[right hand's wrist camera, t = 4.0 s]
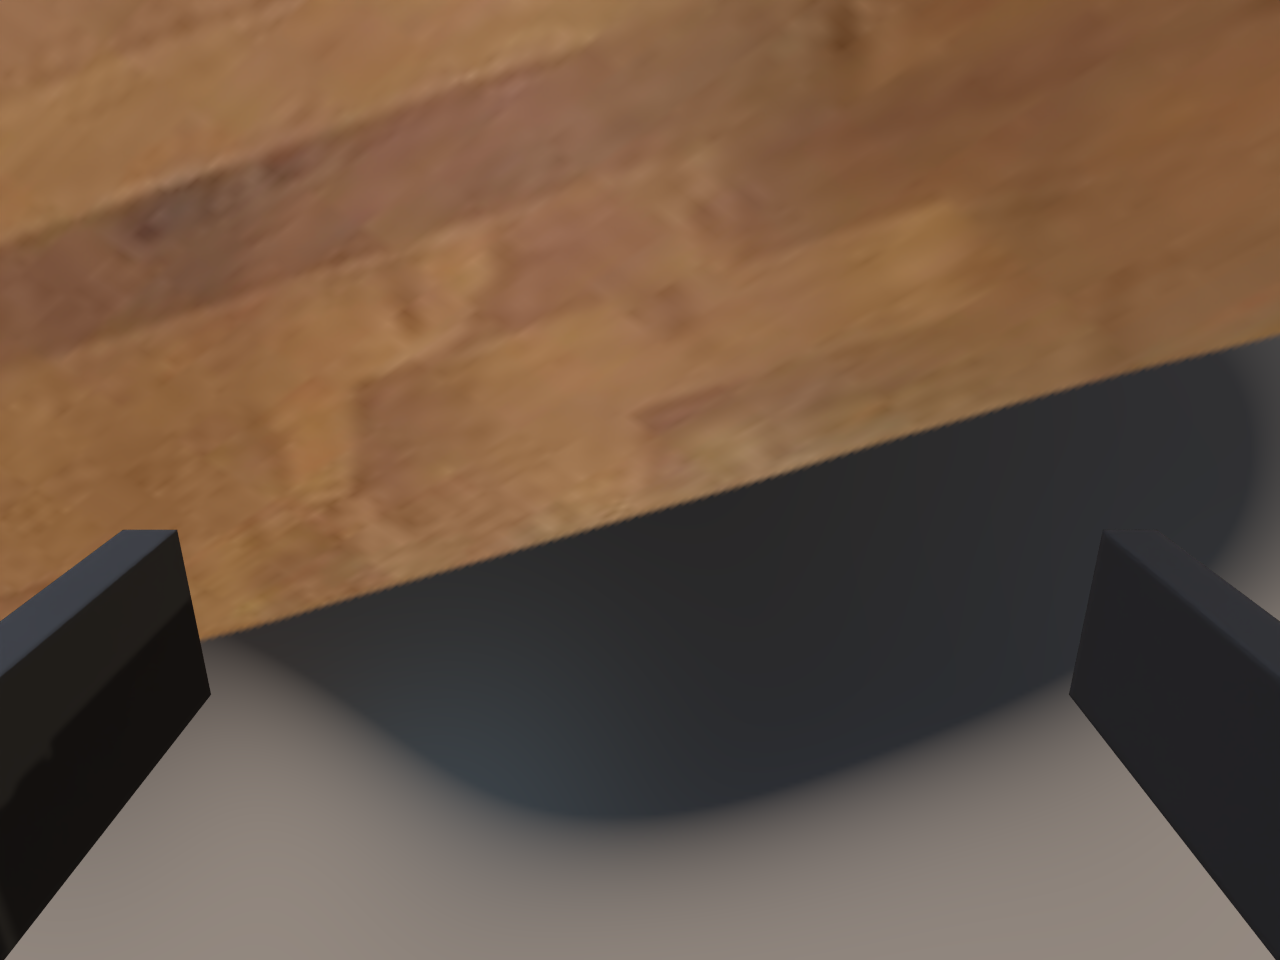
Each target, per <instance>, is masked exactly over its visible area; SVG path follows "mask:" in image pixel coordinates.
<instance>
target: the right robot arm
mask: <svg viewBox="0 0 1280 960" xmlns="http://www.w3.org/2000/svg"><path fill="white" fill-rule="evenodd" d="M210 695H211V693H210V688H209V683H208V678H207V673H206V668H205V663H204V659H203V654H202V649H201V644H200V639H199V634H198V629H197V624H196V620H195V615H194V610H193V605H192V600H191V595H190V590H189V586H188V581H187V576H186V571H185V566H184V561H183V556H182V552H181V547H180V542H179V537H178V532H177V530H122V531H121V532H120V533H118V534H117V535H115V536H114V537H113V538H111V539H110V540H109V541H107V542H106V543H105V544H103V545H102V546H101V547H99V548H98V549H97V550H95V551H94V552H93V553H91V554H90V555H89V556H87V557H86V558H85V559H83V560H82V561H81V562H79V563H78V564H77V565H75V566H74V567H73V568H71V569H70V570H69V571H67V572H66V573H65V574H63V575H62V576H61V577H59V578H58V579H56V580H55V581H54V582H52V583H51V584H50V585H48V586H47V587H46V588H44V589H43V590H42V591H40V592H39V593H38V594H36V595H35V596H34V597H32V598H31V599H30V600H28V601H27V602H26V603H24V604H23V605H22V606H20V607H19V608H18V609H16V610H15V611H14V612H12V613H11V614H10V615H8V616H7V617H6V618H4V619H3V620H2V621H0V960H4V959H5V958H6V957H7V956H8V954H9V953H10V952H11V950H12V949H13V948H14V947H15V945H16V944H17V943H18V941H19V940H20V939H21V938H22V936H23V935H24V934H25V932H26V931H27V930H28V929H29V927H30V926H31V925H32V923H33V922H34V921H35V920H36V918H37V917H38V916H39V915H40V913H41V912H42V911H43V909H44V908H45V907H46V906H47V904H48V903H49V902H50V900H51V899H52V898H53V897H54V895H55V894H56V893H57V891H58V890H59V889H60V888H61V886H62V885H63V884H64V882H65V881H66V880H67V879H68V877H69V876H70V875H71V873H72V872H73V871H74V870H75V868H76V867H77V866H78V864H79V863H80V862H81V861H82V859H83V858H84V857H85V855H86V854H87V853H88V852H89V850H90V849H91V848H92V847H93V845H94V844H95V843H96V841H97V840H98V839H99V838H100V836H101V835H102V834H103V832H104V831H105V830H106V829H107V827H108V826H109V825H110V823H111V822H112V821H113V820H114V818H115V817H116V816H117V814H118V813H119V812H120V811H121V809H122V808H123V807H124V805H125V804H126V803H127V802H128V800H129V799H130V798H131V796H132V795H133V794H134V793H135V791H136V790H137V789H138V788H139V786H140V785H141V784H142V782H143V781H144V780H145V779H146V777H147V776H148V775H149V773H150V772H151V771H152V770H153V768H154V767H155V766H156V764H157V763H158V762H159V761H160V759H161V758H162V757H163V755H164V754H165V753H166V752H167V750H168V749H169V748H170V746H171V745H172V744H173V743H174V741H175V740H176V739H177V737H178V736H179V735H180V734H181V732H182V731H183V730H184V728H185V727H186V726H187V725H188V723H189V722H190V721H191V720H192V718H193V717H194V716H195V714H196V713H197V712H198V710H199V709H200V708H201V707H202V705H203V704H204V703H205V702H206V700H207V699H208V698H209V696H210ZM1069 695H1070V696H1071V698H1072V699H1073V700H1074V702H1075V703H1076V704H1077V705H1078V707H1079V708H1080V709H1081V710H1082V712H1083V713H1084V714H1085V716H1086V717H1087V718H1088V720H1089V721H1090V722H1091V723H1092V725H1093V726H1094V727H1095V728H1096V730H1097V731H1098V732H1099V734H1100V735H1101V736H1102V738H1103V739H1104V740H1105V741H1106V743H1107V744H1108V745H1109V746H1110V748H1111V749H1112V750H1113V752H1114V753H1115V754H1116V755H1117V757H1118V758H1119V759H1120V761H1121V762H1122V763H1123V764H1124V766H1125V767H1126V768H1127V769H1128V771H1129V772H1130V773H1131V775H1132V776H1133V777H1134V779H1135V780H1136V781H1137V782H1138V784H1139V785H1140V786H1141V788H1142V789H1143V790H1144V791H1145V793H1146V794H1147V795H1148V796H1149V798H1150V799H1151V800H1152V802H1153V803H1154V804H1155V805H1156V807H1157V808H1158V809H1159V811H1160V812H1161V813H1162V814H1163V816H1164V817H1165V818H1166V820H1167V821H1168V822H1169V823H1170V825H1171V826H1172V827H1173V829H1174V830H1175V831H1176V832H1177V834H1178V835H1179V836H1180V838H1181V839H1182V840H1183V841H1184V843H1185V844H1186V845H1187V847H1188V848H1189V849H1190V850H1191V852H1192V853H1193V854H1194V855H1195V857H1196V858H1197V859H1198V861H1199V862H1200V863H1201V864H1202V866H1203V867H1204V868H1205V870H1206V871H1207V872H1208V873H1209V875H1210V876H1211V877H1212V879H1213V880H1214V881H1215V882H1216V884H1217V885H1218V886H1219V888H1220V889H1221V890H1222V891H1223V893H1224V894H1225V895H1226V897H1227V898H1228V899H1229V900H1230V902H1231V903H1232V904H1233V905H1234V907H1235V908H1236V909H1237V911H1238V912H1239V913H1240V914H1241V916H1242V917H1243V918H1244V920H1245V921H1246V922H1247V923H1248V925H1249V926H1250V927H1251V929H1252V930H1253V931H1254V932H1255V934H1256V935H1257V936H1258V938H1259V939H1260V940H1261V941H1262V943H1263V944H1264V945H1265V947H1266V948H1267V949H1268V950H1269V952H1270V953H1271V954H1272V956H1273V957H1274V958H1275V959H1276V960H1280V621H1278V620H1277V619H1276V618H1274V617H1273V616H1272V615H1270V614H1269V613H1268V612H1266V611H1265V610H1264V609H1262V608H1261V607H1260V606H1258V605H1257V604H1256V603H1254V602H1253V601H1252V600H1250V599H1249V598H1248V597H1246V596H1245V595H1244V594H1242V593H1241V592H1240V591H1238V590H1237V589H1236V588H1234V587H1233V586H1232V585H1230V584H1229V583H1228V582H1226V581H1225V580H1224V579H1222V578H1221V577H1219V576H1218V575H1217V574H1215V573H1214V572H1213V571H1211V570H1210V569H1209V568H1207V567H1206V566H1205V565H1203V564H1202V563H1201V562H1199V561H1198V560H1197V559H1195V558H1194V557H1193V556H1191V555H1190V554H1189V553H1187V552H1186V551H1185V550H1183V549H1182V548H1181V547H1179V546H1178V545H1177V544H1175V543H1174V542H1173V541H1171V540H1170V539H1169V538H1167V537H1166V536H1165V535H1163V534H1162V533H1160V532H1159V531H1158V530H1103V532H1102V537H1101V542H1100V547H1099V552H1098V556H1097V562H1096V566H1095V571H1094V576H1093V581H1092V586H1091V591H1090V595H1089V600H1088V605H1087V610H1086V615H1085V620H1084V624H1083V629H1082V634H1081V639H1080V644H1079V649H1078V654H1077V659H1076V664H1075V668H1074V673H1073V678H1072V683H1071V688H1070V693H1069Z"/></svg>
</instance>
